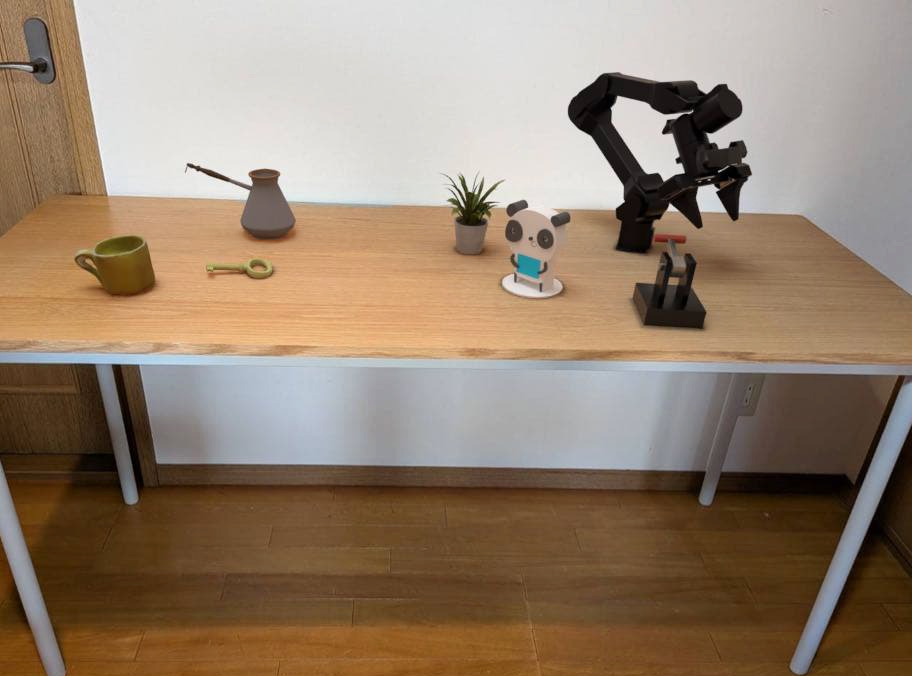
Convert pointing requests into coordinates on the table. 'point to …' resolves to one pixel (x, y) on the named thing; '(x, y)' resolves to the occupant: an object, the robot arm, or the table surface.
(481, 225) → the house plant
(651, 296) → the lever base unit
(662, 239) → the switch lever
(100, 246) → the mug
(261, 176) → the coffee pot
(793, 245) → the table surface
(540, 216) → the panda figurine
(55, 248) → the table surface
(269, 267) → the key
